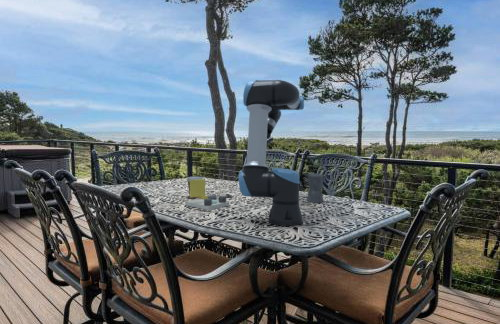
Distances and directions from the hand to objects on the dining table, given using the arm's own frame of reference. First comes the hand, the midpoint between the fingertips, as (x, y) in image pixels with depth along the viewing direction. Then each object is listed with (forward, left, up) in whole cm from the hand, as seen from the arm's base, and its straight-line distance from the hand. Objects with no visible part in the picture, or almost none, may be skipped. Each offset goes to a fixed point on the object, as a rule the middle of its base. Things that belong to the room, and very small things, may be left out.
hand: (252, 154), depth 190 cm
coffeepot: (-20, -31, -28) cm, 46 cm away
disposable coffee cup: (+40, +5, -28) cm, 49 cm away
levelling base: (+17, +17, -27) cm, 36 cm away
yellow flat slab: (+18, +19, -25) cm, 36 cm away
